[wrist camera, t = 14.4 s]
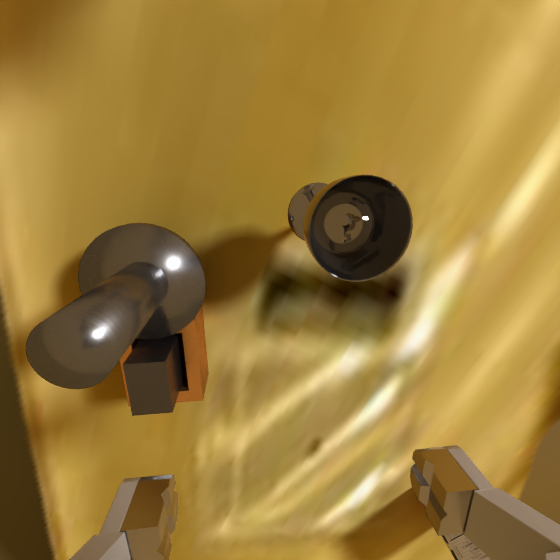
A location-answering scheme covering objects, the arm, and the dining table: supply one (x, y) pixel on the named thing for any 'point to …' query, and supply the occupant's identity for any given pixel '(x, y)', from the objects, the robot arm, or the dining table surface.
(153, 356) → the dark brown upright block
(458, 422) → the dining table surface
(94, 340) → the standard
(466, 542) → the candy bar box
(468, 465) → the robot arm
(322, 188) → the wine glass
